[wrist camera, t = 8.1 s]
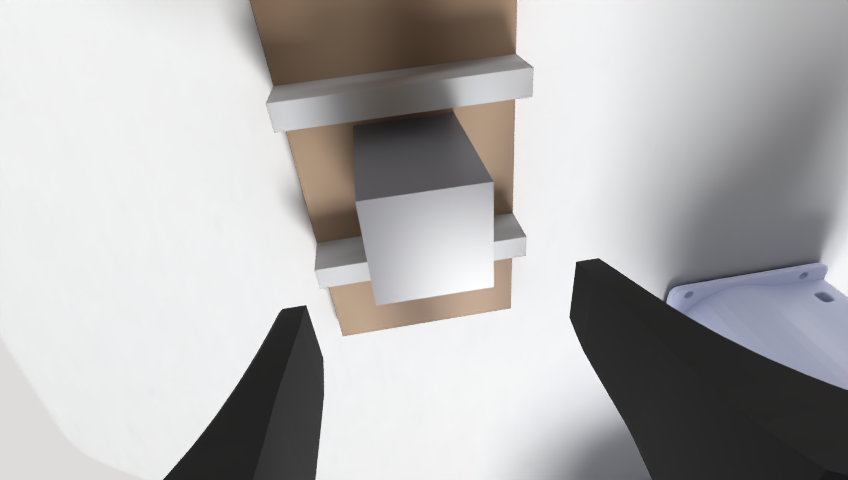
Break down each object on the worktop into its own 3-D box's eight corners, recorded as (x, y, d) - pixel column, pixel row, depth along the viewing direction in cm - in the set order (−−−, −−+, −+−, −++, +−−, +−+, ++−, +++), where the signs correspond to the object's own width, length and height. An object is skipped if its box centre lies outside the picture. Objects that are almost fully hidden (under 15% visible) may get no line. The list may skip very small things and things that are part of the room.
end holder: (511, -112, 15) (541, -119, 13) (506, 298, 25) (522, 335, 23) (232, -81, 15) (211, -82, 12) (342, 325, 25) (342, 366, 23)
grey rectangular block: (453, 112, 18) (493, 181, 13) (458, 200, 21) (493, 286, 16) (352, 125, 18) (355, 201, 13) (368, 213, 20) (375, 306, 15)
